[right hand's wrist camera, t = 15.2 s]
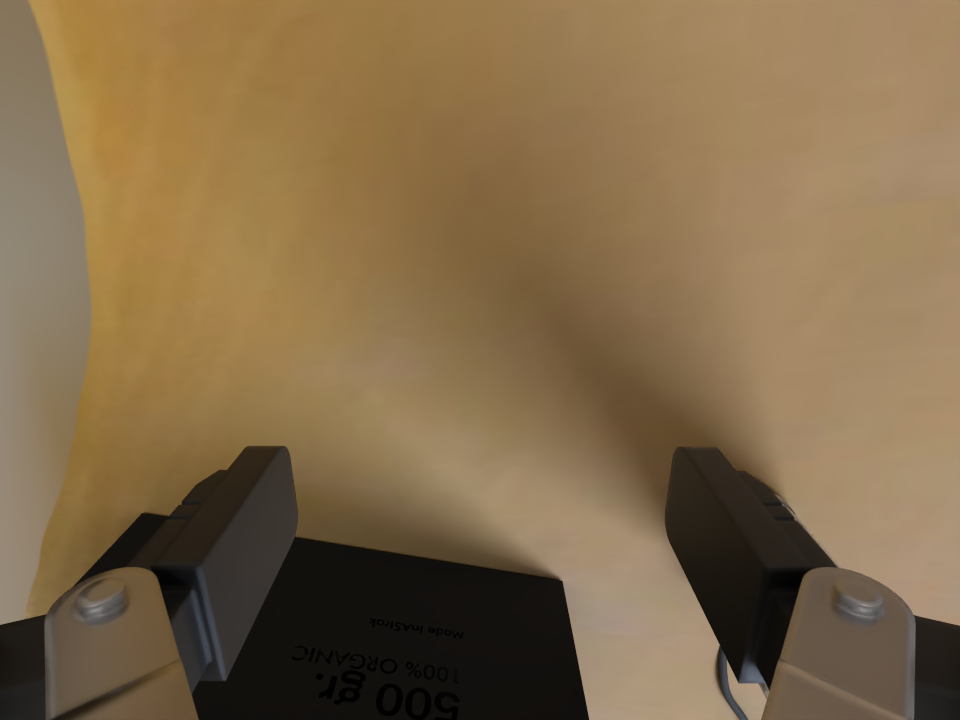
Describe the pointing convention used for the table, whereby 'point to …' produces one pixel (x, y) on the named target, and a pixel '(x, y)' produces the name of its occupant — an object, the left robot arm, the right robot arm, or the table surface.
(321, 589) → the cardboard box
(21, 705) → the right robot arm
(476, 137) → the table surface
